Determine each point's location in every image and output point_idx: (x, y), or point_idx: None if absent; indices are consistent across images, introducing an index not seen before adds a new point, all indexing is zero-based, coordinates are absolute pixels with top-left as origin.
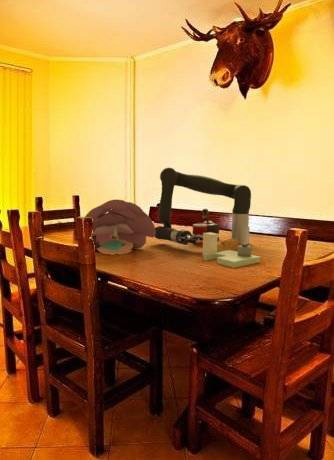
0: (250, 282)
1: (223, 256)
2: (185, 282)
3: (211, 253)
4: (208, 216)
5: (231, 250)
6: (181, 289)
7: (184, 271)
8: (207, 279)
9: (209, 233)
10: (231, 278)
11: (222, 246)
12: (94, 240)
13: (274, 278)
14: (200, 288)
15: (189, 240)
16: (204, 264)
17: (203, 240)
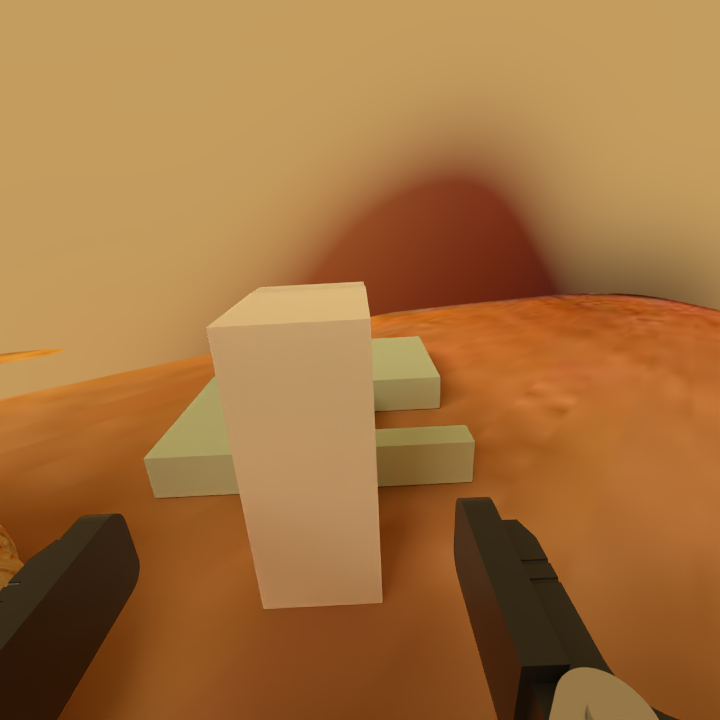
0: (476, 311)
1: (384, 379)
2: (687, 331)
3: (392, 439)
4: None
5: (154, 447)
6: (703, 315)
7: (690, 380)
8: (594, 331)
9: (313, 302)
10: (508, 324)
11: (2, 555)
12: None
13: (394, 312)
14: (638, 312)
15: (590, 658)
16: (528, 414)
17: (374, 423)
